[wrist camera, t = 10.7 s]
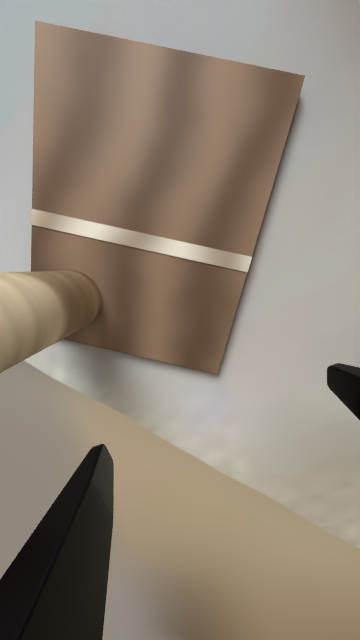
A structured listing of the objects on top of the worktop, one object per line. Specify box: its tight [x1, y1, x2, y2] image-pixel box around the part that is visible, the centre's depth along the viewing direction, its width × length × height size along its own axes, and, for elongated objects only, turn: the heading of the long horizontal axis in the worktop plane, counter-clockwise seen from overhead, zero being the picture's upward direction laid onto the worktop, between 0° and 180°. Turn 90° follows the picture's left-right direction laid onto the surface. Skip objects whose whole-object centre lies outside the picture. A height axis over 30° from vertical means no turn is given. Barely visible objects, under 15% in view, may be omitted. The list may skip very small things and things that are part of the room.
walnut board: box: [31, 21, 305, 374], centre depth 17 cm, size 18×22×1 cm
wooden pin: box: [0, 270, 102, 373], centre depth 12 cm, size 5×5×14 cm
